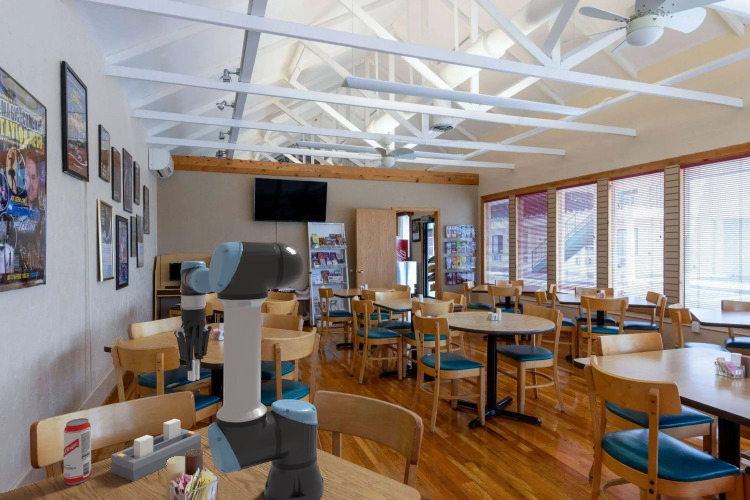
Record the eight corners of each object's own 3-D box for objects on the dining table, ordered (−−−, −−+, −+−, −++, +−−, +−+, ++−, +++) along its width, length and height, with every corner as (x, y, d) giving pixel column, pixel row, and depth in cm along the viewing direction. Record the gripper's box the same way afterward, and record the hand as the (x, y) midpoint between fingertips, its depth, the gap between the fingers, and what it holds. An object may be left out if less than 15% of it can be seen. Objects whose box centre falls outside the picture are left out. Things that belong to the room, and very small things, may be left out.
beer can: (77, 487, 118) (77, 426, 118) (57, 484, 119) (57, 425, 119) (96, 475, 124) (96, 418, 124) (77, 473, 125) (77, 416, 125)
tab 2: (180, 439, 140) (180, 420, 140) (169, 444, 136) (169, 424, 136) (174, 437, 141) (174, 418, 141) (163, 442, 138) (163, 422, 138)
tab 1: (153, 457, 128) (153, 436, 128) (139, 463, 124) (139, 441, 124) (147, 455, 129) (147, 434, 129) (133, 461, 125) (133, 439, 125)
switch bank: (200, 450, 140) (200, 433, 140) (133, 481, 121) (133, 462, 121) (179, 443, 145) (179, 426, 145) (111, 472, 126) (111, 453, 126)
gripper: (203, 304, 154) (203, 373, 154) (167, 309, 142) (167, 383, 142) (218, 306, 150) (218, 375, 150) (182, 311, 138) (182, 387, 138)
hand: (193, 379), depth 146 cm, fingers closed
